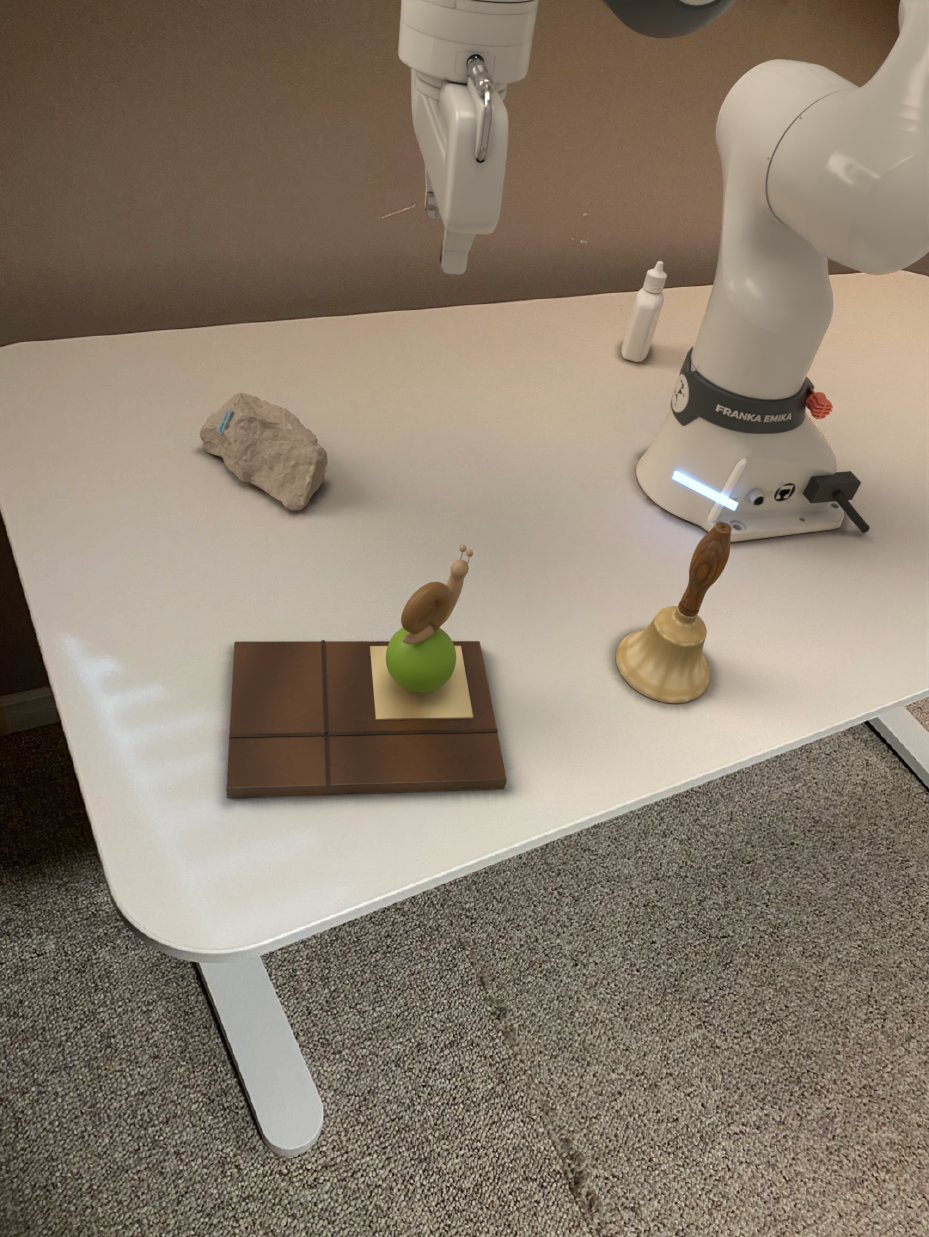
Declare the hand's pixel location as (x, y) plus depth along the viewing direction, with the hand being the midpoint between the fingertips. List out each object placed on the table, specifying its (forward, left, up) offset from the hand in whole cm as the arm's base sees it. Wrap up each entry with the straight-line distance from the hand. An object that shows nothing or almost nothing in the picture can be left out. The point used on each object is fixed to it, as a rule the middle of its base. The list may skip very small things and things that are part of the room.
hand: (443, 241), depth 71 cm
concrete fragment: (+14, -6, -27) cm, 31 cm away
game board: (+6, +25, -27) cm, 37 cm away
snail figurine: (+1, +22, -26) cm, 34 cm away
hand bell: (-20, +20, -27) cm, 39 cm away
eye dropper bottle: (-32, -34, -27) cm, 54 cm away
